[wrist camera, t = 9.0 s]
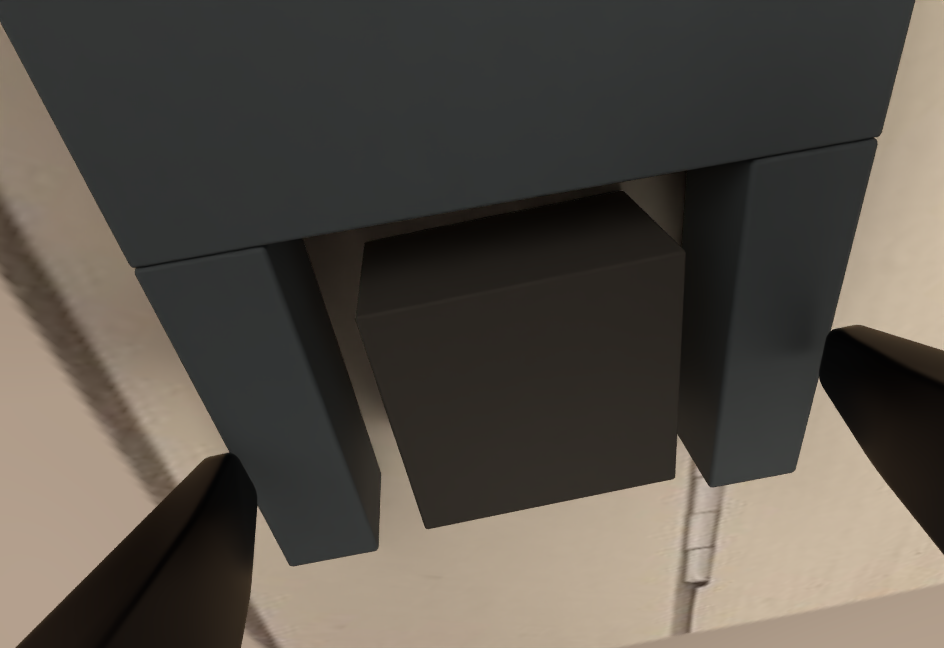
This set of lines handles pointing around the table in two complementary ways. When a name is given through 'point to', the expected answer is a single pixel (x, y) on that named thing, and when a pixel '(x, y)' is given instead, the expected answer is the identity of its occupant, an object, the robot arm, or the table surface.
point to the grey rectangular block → (464, 187)
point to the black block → (527, 355)
